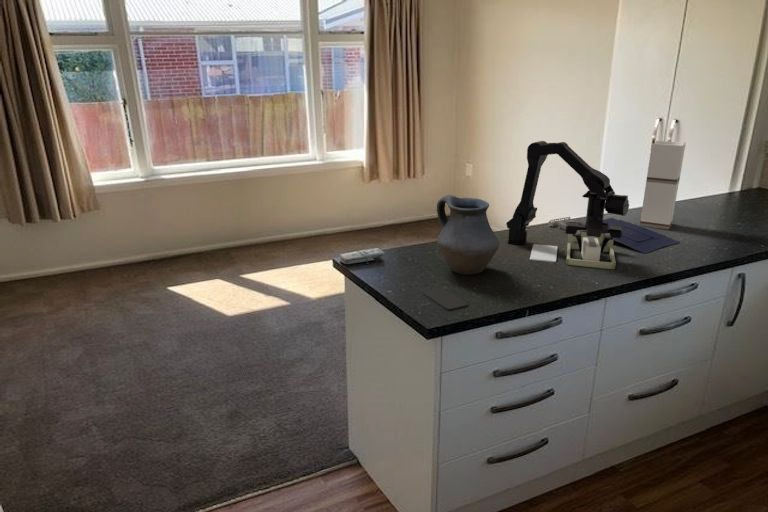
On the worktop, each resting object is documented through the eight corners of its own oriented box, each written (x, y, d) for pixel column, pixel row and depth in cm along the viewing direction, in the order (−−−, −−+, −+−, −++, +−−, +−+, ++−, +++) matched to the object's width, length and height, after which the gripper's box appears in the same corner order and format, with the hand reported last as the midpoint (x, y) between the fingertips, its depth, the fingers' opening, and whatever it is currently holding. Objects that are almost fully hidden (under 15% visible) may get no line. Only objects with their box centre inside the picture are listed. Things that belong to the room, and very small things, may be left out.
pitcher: (482, 285, 182) (486, 209, 173) (421, 272, 192) (423, 200, 184) (505, 266, 198) (510, 196, 190) (448, 256, 209) (451, 188, 201)
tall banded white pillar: (672, 223, 249) (685, 142, 238) (668, 229, 241) (682, 145, 230) (643, 220, 255) (655, 140, 244) (639, 225, 247) (651, 143, 235)
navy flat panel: (612, 222, 247) (614, 214, 245) (678, 248, 225) (681, 239, 223) (576, 232, 234) (578, 223, 232) (642, 260, 212) (645, 251, 210)
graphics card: (547, 219, 245) (569, 216, 249) (546, 228, 246) (568, 224, 251) (574, 230, 231) (597, 226, 235) (573, 239, 232) (596, 234, 236)
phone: (441, 287, 179) (469, 304, 166) (441, 290, 179) (469, 307, 167) (420, 291, 176) (447, 309, 163) (420, 294, 176) (447, 312, 163)
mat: (529, 260, 205) (529, 258, 204) (533, 245, 221) (533, 244, 221) (555, 262, 202) (555, 261, 202) (557, 247, 218) (557, 246, 218)
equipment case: (566, 264, 200) (568, 242, 197) (567, 246, 219) (569, 226, 217) (615, 269, 195) (618, 247, 193) (611, 250, 214) (614, 230, 212)
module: (583, 263, 202) (586, 245, 200) (581, 252, 213) (583, 235, 211) (598, 264, 201) (601, 246, 199) (595, 253, 212) (597, 236, 210)
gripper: (567, 214, 197) (562, 257, 202) (625, 218, 191) (619, 262, 196) (567, 207, 207) (563, 248, 212) (623, 210, 201) (617, 253, 206)
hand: (590, 253), depth 206 cm, fingers open, 6 cm apart
